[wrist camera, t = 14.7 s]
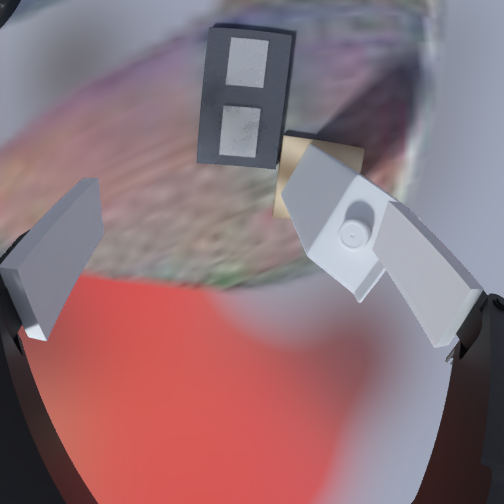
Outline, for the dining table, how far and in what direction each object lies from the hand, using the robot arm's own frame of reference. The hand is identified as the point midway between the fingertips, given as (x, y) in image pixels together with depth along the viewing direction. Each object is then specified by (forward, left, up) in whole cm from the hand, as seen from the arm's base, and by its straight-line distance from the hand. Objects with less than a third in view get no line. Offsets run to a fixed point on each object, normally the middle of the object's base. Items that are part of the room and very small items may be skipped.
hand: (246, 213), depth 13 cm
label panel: (-5, 0, -23) cm, 24 cm away
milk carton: (+4, +10, -23) cm, 25 cm away
